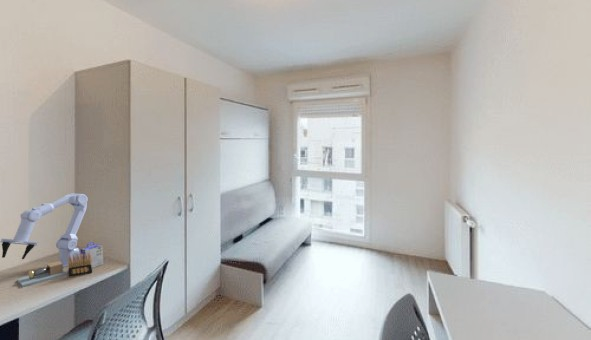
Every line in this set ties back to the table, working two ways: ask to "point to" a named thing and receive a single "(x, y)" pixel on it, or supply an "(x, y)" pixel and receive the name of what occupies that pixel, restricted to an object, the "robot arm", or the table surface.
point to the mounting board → (44, 275)
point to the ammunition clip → (80, 265)
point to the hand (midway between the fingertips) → (13, 258)
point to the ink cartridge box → (94, 254)
